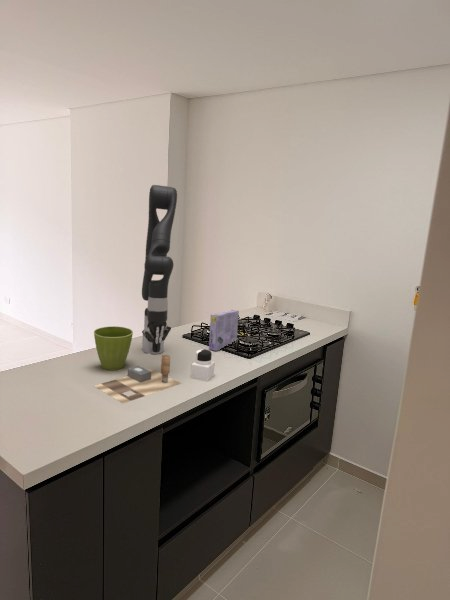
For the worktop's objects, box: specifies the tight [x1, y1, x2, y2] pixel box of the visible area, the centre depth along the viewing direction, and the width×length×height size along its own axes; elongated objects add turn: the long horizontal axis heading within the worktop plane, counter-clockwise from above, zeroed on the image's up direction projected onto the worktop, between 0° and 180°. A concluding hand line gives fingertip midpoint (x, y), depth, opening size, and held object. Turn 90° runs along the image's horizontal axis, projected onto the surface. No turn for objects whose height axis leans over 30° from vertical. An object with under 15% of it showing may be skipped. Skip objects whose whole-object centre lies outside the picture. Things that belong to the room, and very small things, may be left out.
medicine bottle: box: [190, 348, 216, 382], centre depth 163 cm, size 7×7×12 cm
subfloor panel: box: [93, 368, 182, 404], centre depth 152 cm, size 18×26×2 cm
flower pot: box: [93, 326, 134, 371], centre depth 166 cm, size 15×15×16 cm
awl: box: [160, 354, 171, 383], centre depth 155 cm, size 3×3×10 cm
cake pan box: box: [208, 309, 240, 352], centre depth 205 cm, size 19×5×18 cm, turn 144°
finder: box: [127, 365, 151, 383], centre depth 158 cm, size 8×5×3 cm, turn 48°
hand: (156, 351), depth 161 cm, fingers closed
